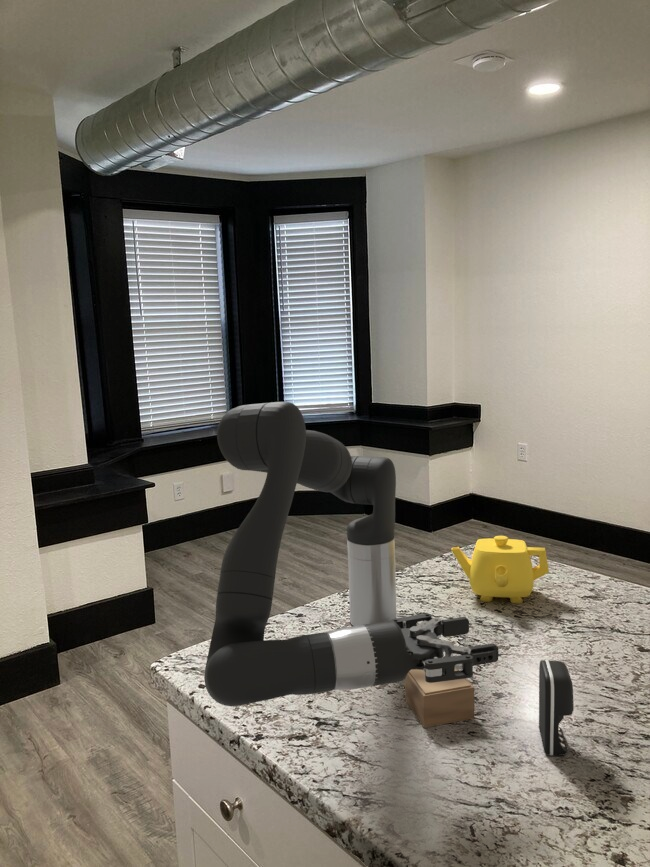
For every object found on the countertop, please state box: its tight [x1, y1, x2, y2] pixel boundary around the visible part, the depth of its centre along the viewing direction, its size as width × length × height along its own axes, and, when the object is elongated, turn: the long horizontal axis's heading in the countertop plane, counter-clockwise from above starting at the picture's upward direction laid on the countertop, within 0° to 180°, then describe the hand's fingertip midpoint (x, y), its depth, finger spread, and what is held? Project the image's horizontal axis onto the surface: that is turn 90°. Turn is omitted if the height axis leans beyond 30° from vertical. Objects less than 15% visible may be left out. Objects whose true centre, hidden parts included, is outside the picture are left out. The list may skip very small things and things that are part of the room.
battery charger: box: [538, 659, 575, 757], centre depth 98 cm, size 7×4×11 cm, turn 171°
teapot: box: [451, 535, 550, 604], centre depth 148 cm, size 20×19×13 cm
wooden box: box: [404, 669, 475, 728], centre depth 108 cm, size 8×8×5 cm
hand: (481, 637), depth 93 cm, fingers open, 8 cm apart
